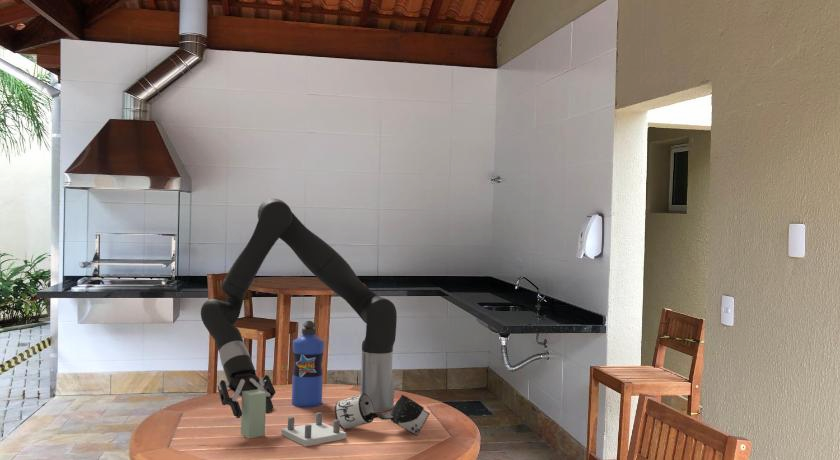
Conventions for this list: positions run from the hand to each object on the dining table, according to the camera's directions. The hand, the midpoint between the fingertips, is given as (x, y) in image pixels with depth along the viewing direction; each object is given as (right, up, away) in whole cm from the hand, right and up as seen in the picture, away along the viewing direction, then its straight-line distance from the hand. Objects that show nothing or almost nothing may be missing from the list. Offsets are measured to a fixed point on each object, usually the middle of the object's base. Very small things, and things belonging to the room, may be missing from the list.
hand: (255, 414), depth 188 cm
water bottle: (+8, -6, +34) cm, 35 cm away
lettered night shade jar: (+31, -7, +8) cm, 33 cm away
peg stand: (+15, -6, +1) cm, 16 cm away
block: (-1, -6, +1) cm, 6 cm away
